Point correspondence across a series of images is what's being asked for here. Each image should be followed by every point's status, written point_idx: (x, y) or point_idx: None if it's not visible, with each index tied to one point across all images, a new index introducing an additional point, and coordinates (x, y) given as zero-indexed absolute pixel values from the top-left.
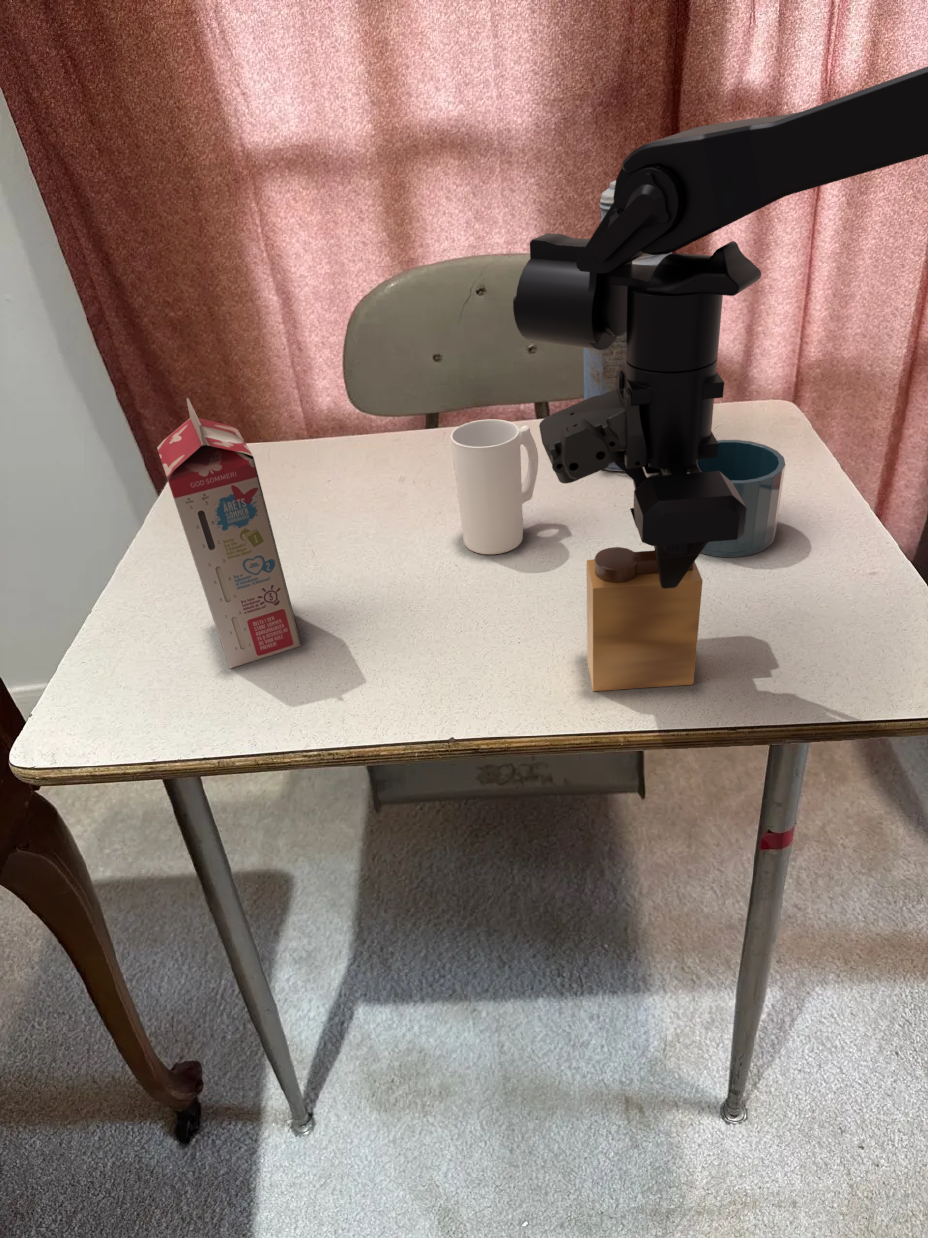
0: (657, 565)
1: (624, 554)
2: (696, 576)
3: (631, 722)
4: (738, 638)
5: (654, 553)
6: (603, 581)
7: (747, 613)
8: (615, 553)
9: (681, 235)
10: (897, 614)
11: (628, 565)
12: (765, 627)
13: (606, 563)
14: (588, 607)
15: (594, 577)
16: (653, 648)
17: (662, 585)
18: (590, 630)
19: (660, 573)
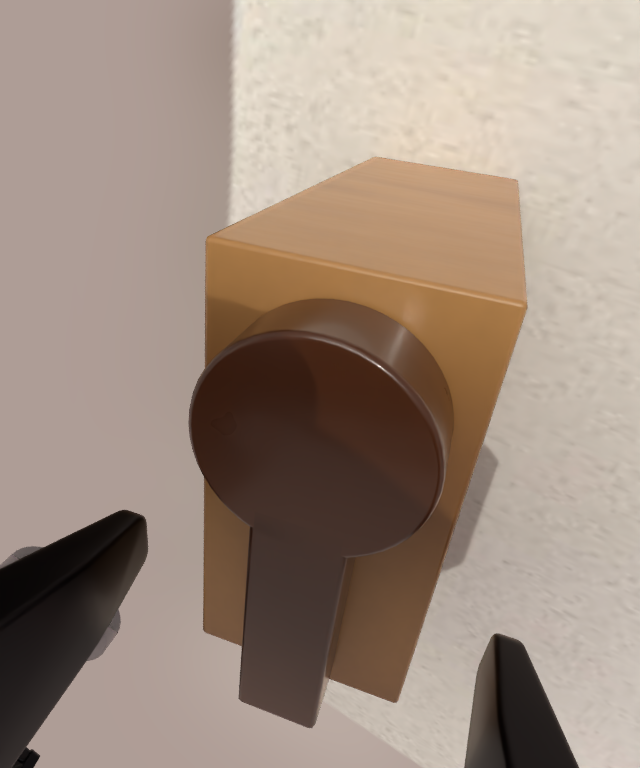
0: (39, 580)
1: (333, 508)
2: (227, 630)
3: None
4: (461, 543)
5: (300, 617)
6: (252, 313)
7: (540, 601)
8: (357, 474)
9: None
10: (429, 749)
11: (215, 476)
12: (476, 599)
13: (258, 384)
14: (452, 218)
15: (306, 281)
16: None
17: (107, 518)
18: (393, 193)
19: (30, 556)
